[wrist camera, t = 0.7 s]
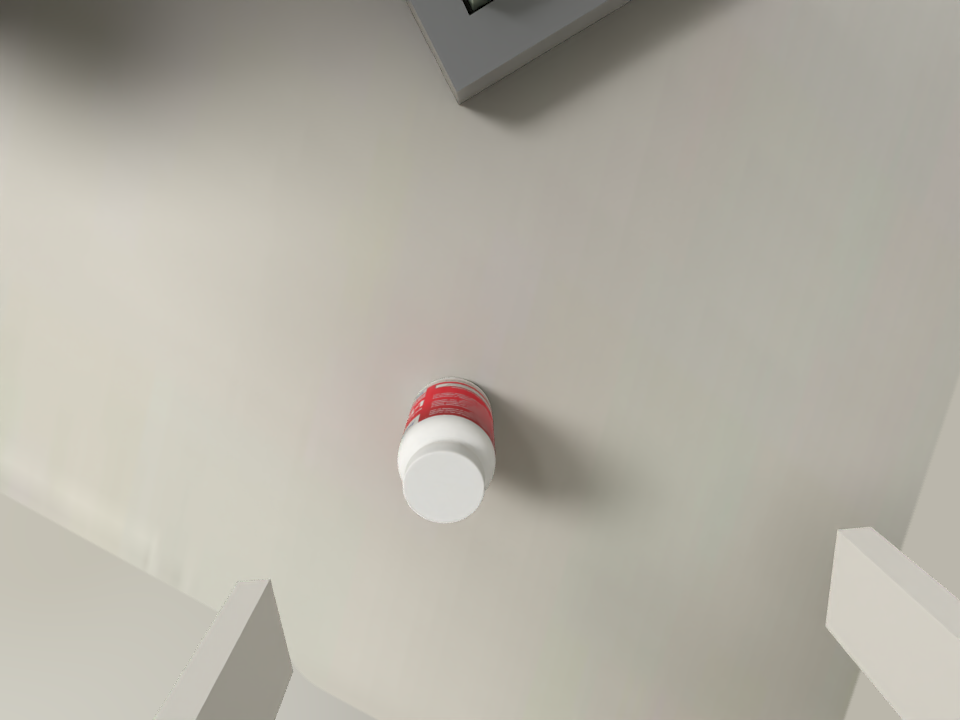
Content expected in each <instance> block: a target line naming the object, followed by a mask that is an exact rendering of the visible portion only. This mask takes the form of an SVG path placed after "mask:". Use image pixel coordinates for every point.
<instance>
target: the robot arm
mask: <svg viewBox="0 0 960 720" xmlns="http://www.w3.org/2000/svg"><path fill="white" fill-rule="evenodd" d="M825 627H826V628H827V629H828V630H829V631H830V633H831V634H832V635H833V636H834V637H835V639H836V640H837V641H838V642H839V644H840V645H841V646H842V647H843V648H844V650H845V651H846V652H847V653H848V654H849V656H850V657H851V658H852V659H853V660H854V662H855V663H856V664H857V665H858V667H859V668H860V669H861V670H862V671H863V672H864V674H865V675H866V676H867V677H868V679H869V680H870V681H871V682H872V683H873V685H874V686H875V687H876V688H877V689H878V691H879V692H880V693H881V694H882V696H883V697H884V698H885V699H886V700H887V701H888V703H889V704H890V705H891V706H892V708H893V709H894V710H895V711H896V712H897V714H898V715H899V716H900V717H901V718H902V720H960V599H958V598H957V597H956V596H955V595H953V594H952V593H951V592H950V591H948V590H947V589H946V588H945V587H944V586H942V585H941V584H940V583H939V582H938V581H936V580H935V579H934V578H933V577H931V576H930V575H929V574H928V573H927V572H925V571H924V570H923V569H922V568H921V567H919V566H918V565H917V564H916V563H914V562H913V561H912V560H911V559H910V558H908V557H907V556H906V555H905V554H904V553H902V552H901V551H900V550H899V549H898V548H896V547H895V546H894V545H893V544H891V543H890V542H889V541H888V540H887V539H885V538H884V537H883V536H882V535H880V534H879V533H878V532H877V531H876V530H874V529H873V528H872V527H862V528H851V529H839V530H837V537H836V545H835V553H834V561H833V569H832V577H831V585H830V593H829V601H828V609H827V617H826V625H825ZM292 673H293V669H292V664H291V660H290V656H289V652H288V648H287V644H286V640H285V636H284V632H283V628H282V624H281V620H280V616H279V612H278V608H277V604H276V600H275V596H274V592H273V588H272V584H271V580H270V579H262V580H250V581H239V582H237V583H236V585H235V587H234V588H233V590H232V591H231V593H230V595H229V596H228V598H227V600H226V601H225V603H224V605H223V606H222V608H221V609H220V611H219V613H218V615H217V616H216V618H215V619H214V621H213V623H212V624H211V626H210V628H209V629H208V631H207V632H206V634H205V636H204V637H203V639H202V641H201V642H200V644H199V646H198V647H197V649H196V650H195V652H194V654H193V655H192V657H191V658H190V660H189V662H188V664H187V665H186V667H185V668H184V670H183V672H182V673H181V675H180V677H179V678H178V680H177V681H176V683H175V685H174V686H173V688H172V690H171V691H170V693H169V695H168V696H167V698H166V699H165V701H164V703H163V705H162V706H161V708H160V709H159V711H158V713H157V714H156V716H155V718H154V719H153V720H275V718H276V715H277V713H278V710H279V708H280V705H281V702H282V700H283V697H284V694H285V692H286V689H287V686H288V683H289V681H290V678H291V676H292Z"/></svg>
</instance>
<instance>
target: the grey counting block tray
mask: <svg viewBox="0 0 960 720" xmlns="http://www.w3.org/2000/svg"><path fill="white" fill-rule="evenodd" d="M630 1H631V0H494V1H492V2H491V3H489V4H487V5H486V6H484V7H483V8H481V9H479V10H478V11H476V12H475V13H473V14H471V15H470V16H469V14H468V12H467V10H466V7H465V5H464V3H463V1H462V0H406V2H407V4H408V6H409V8H410V10H411V12H412V14H413V16H414V18H415V20H416V21H417V23H418V25H419V27H420V29H421V31H422V33H423V35H424V37H425V39H426V41H427V43H428V45H429V47H430V49H431V51H432V53H433V55H434V57H435V59H436V61H437V63H438V65H439V67H440V69H441V71H442V72H443V74H444V76H445V78H446V80H447V82H448V84H449V86H450V88H451V90H452V92H453V94H454V96H455V98H456V100H457V102H458V104H461V103H462V102H464V101H466V100H467V99H469V98H470V97H472V96H474V95H475V94H477V93H479V92H480V91H482V90H484V89H485V88H487V87H489V86H490V85H492V84H494V83H495V82H497V81H499V80H500V79H502V78H504V77H505V76H507V75H509V74H510V73H512V72H514V71H515V70H517V69H519V68H520V67H522V66H524V65H525V64H527V63H529V62H530V61H532V60H534V59H535V58H537V57H539V56H540V55H542V54H544V53H545V52H547V51H548V50H550V49H552V48H553V47H555V46H557V45H558V44H560V43H562V42H563V41H565V40H567V39H568V38H570V37H572V36H573V35H575V34H577V33H578V32H580V31H582V30H583V29H585V28H587V27H588V26H590V25H592V24H593V23H595V22H597V21H598V20H600V19H602V18H603V17H605V16H607V15H608V14H610V13H612V12H613V11H615V10H617V9H618V8H620V7H622V6H623V5H625V4H626V3H628V2H630Z"/></svg>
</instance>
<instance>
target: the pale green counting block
mask: <svg viewBox="0 0 960 720" xmlns="http://www.w3.org/2000/svg"><path fill="white" fill-rule="evenodd" d="M468 1H469V4H470V6H471V8H472V10H473V11H474V10H476V9H477V8H479V7H480V6H482V5H484V4H485V3H487V2H488V1H490V0H468Z"/></svg>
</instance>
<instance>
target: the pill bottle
mask: <svg viewBox="0 0 960 720" xmlns="http://www.w3.org/2000/svg"><path fill="white" fill-rule="evenodd" d="M397 464H398V471H399V475H400V478H401V480H402V482H403V494H404V497H405V499H406V501H407V503H408V505H409V506H410V508H411V509H412V510H413V511H414V512H415V513H416V514H417V515H419V516H420V517H422V518H424V519H426V520H428V521H432V522H435V523H454V522H458V521H461V520H463V519H465V518H467V517H468V516H470V515H471V514H472V513H473V512H475V510H476V509H477V508H478V507H479V505H480V504H481V502H482V499H483V497H484V492H485V490H486V489H487V487H488V486H489V484H490V482H491V480H492V478H493V475H494V471H495V465H496V453H495V442H494V429H493V415H492V409H491V405H490V402H489V400H488V398H487V396H486V395H485V393H484V392H483V391H482V390H481V389H480V388H479V387H478V386H476V385H475V384H473V383H472V382H470V381H467V380H465V379H461V378H454V377H448V378H442V379H438V380H435V381H433V382H431V383H429V384H428V385H426V386H425V387H424V388H423V389H422V390H421V391H420V392H419V393H418V395H417V396H416V398H415V400H414V402H413V404H412V408H411V411H410V414H409V417H408V420H407V423H406V427H405V430H404V433H403V437H402V440H401V443H400V447H399V451H398V459H397Z"/></svg>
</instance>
